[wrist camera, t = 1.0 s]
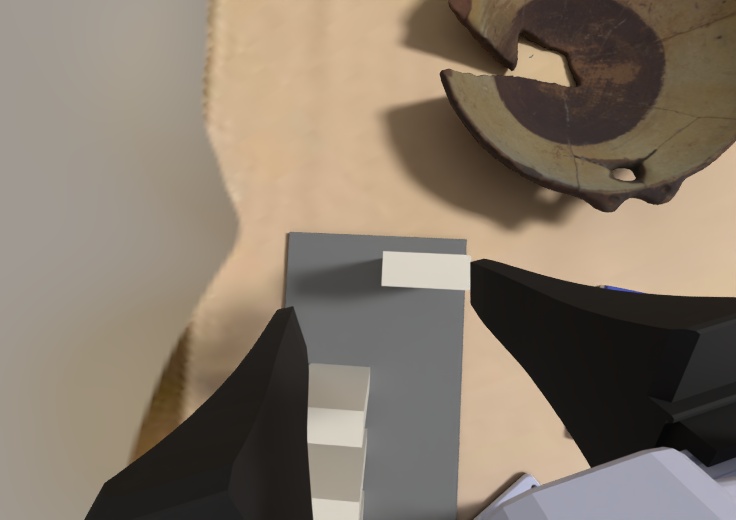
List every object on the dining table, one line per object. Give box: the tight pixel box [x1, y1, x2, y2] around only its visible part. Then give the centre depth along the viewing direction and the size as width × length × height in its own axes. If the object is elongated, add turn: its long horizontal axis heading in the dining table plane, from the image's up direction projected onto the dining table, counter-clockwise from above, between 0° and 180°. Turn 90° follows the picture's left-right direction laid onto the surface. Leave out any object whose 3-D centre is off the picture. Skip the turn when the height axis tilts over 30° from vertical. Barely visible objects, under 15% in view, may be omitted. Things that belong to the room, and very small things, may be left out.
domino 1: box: [307, 363, 370, 447], centre depth 21 cm, size 2×5×8 cm, turn 87°
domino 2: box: [308, 428, 367, 520], centre depth 21 cm, size 2×5×8 cm, turn 87°
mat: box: [285, 232, 467, 520], centre depth 25 cm, size 28×15×1 cm, turn 177°
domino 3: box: [381, 251, 471, 290], centre depth 21 cm, size 2×5×8 cm, turn 87°
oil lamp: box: [440, 0, 736, 212], centre depth 22 cm, size 22×30×8 cm
